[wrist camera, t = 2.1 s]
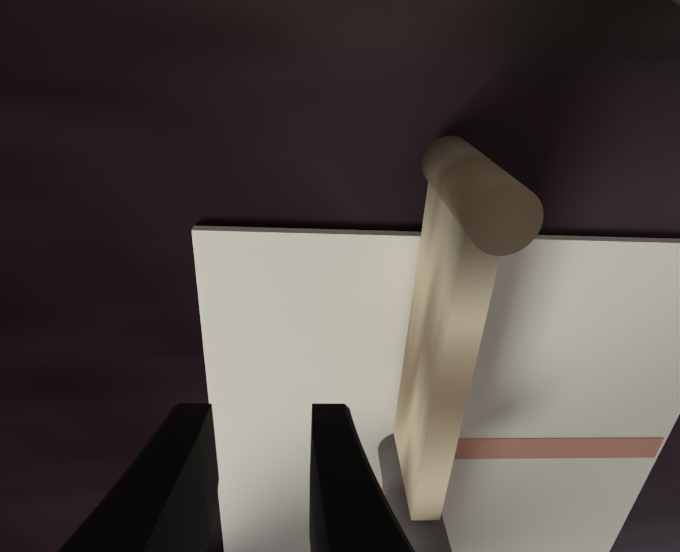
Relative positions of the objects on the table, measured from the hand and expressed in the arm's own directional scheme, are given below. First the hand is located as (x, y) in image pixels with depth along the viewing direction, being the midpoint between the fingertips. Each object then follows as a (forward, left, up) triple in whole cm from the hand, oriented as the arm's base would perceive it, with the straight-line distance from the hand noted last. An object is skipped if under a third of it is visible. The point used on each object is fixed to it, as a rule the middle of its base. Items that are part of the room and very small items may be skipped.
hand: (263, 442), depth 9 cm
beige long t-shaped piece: (-2, -5, -8) cm, 9 cm away
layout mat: (-9, -7, -8) cm, 14 cm away
